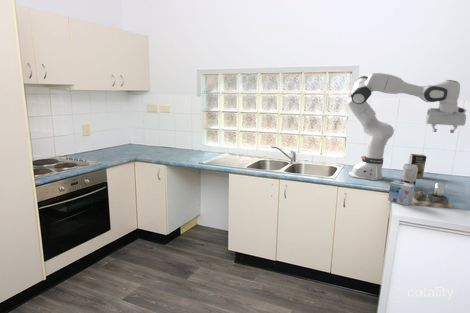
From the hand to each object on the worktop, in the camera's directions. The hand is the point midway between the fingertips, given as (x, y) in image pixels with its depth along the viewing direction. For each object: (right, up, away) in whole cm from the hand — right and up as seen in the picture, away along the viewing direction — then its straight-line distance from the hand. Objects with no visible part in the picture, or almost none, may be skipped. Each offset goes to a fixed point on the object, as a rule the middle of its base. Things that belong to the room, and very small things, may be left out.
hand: (443, 132), depth 188 cm
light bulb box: (-31, -40, -11) cm, 52 cm away
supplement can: (-13, -35, +14) cm, 40 cm away
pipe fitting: (-11, -39, -12) cm, 42 cm away
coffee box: (+7, -29, +42) cm, 51 cm away
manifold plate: (-15, -40, -11) cm, 44 cm away
